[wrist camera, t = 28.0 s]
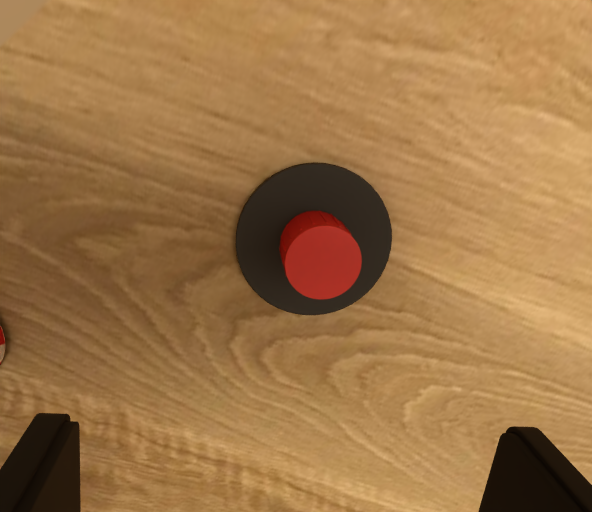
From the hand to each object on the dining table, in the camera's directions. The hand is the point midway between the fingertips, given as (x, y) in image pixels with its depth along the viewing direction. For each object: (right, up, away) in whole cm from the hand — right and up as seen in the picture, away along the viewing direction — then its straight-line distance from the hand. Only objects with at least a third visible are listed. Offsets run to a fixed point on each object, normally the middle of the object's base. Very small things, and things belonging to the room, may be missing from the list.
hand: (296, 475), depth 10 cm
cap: (+1, +5, +17) cm, 18 cm away
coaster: (+1, +6, +17) cm, 18 cm away
